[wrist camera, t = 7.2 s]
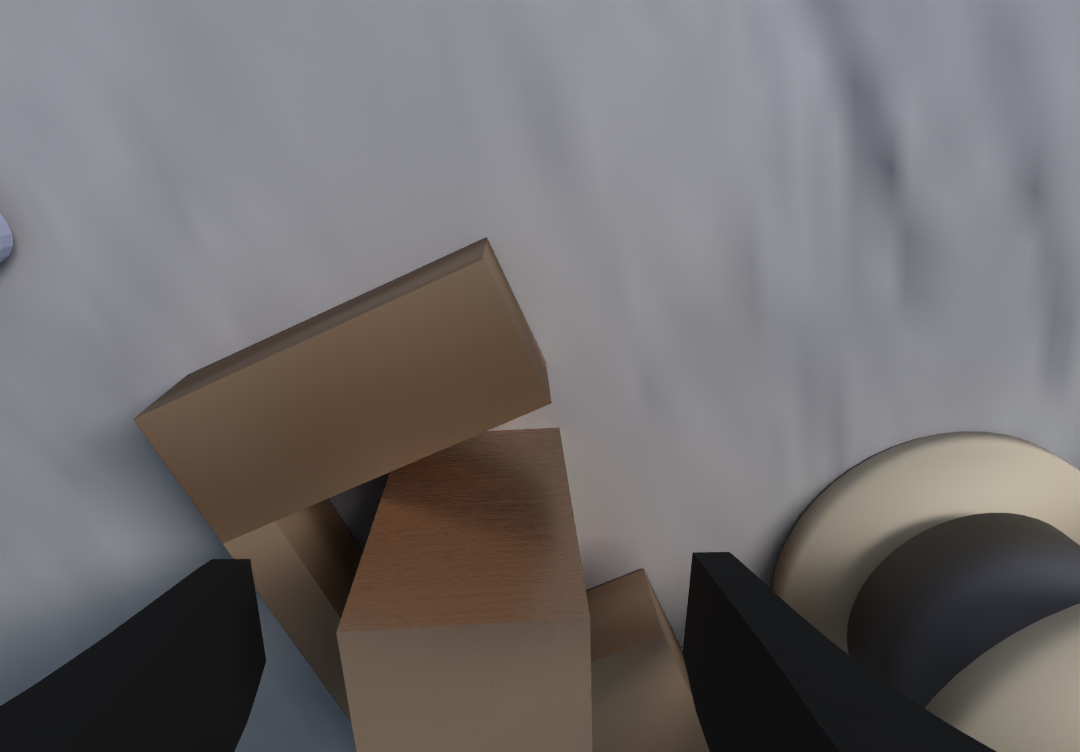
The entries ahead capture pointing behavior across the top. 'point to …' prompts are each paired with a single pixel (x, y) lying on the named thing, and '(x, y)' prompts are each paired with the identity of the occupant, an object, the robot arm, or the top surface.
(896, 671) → the spool
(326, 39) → the top surface
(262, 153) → the top surface
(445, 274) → the notched board
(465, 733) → the brown wooden block
